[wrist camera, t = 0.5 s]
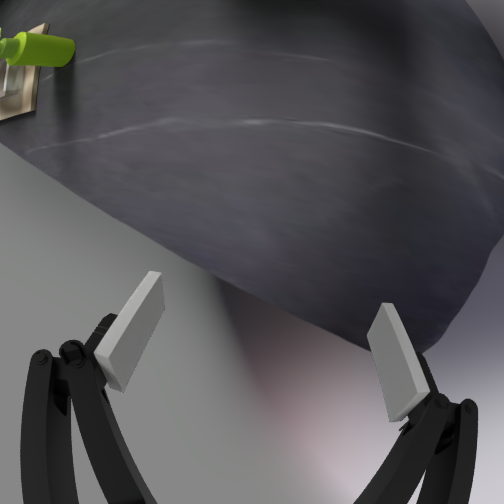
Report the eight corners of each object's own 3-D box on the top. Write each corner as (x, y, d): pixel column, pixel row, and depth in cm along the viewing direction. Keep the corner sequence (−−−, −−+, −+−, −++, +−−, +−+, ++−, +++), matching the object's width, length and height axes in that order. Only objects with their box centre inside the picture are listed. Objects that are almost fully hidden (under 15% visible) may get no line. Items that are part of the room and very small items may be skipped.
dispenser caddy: (6, 47, 25) (-13, 47, 20) (49, 24, 25) (28, 20, 19) (-4, 121, 35) (-23, 126, 29) (35, 110, 34) (13, 113, 29)
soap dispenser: (80, 54, 30) (-4, 46, 12) (55, 72, 31) (-26, 75, 13) (78, 31, 27) (-1, 17, 10) (53, 49, 28) (-24, 46, 11)
